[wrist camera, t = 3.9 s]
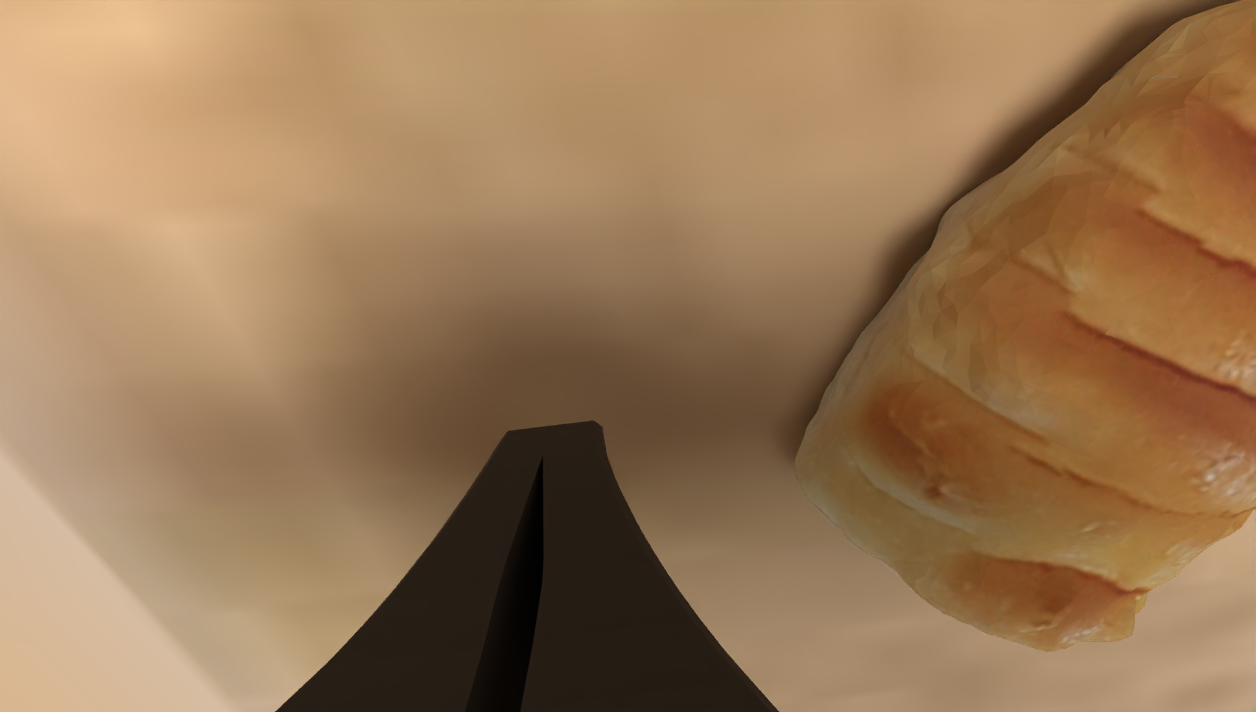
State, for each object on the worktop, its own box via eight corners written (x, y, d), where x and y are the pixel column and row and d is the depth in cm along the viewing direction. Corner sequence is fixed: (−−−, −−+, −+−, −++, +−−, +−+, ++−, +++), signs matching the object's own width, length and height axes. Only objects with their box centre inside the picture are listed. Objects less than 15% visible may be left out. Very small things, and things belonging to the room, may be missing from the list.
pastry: (1083, -112, 9) (1398, -163, 5) (1448, 85, 10) (1872, 144, 7) (756, 460, 13) (818, 634, 9) (1049, 541, 14) (1192, 716, 11)
